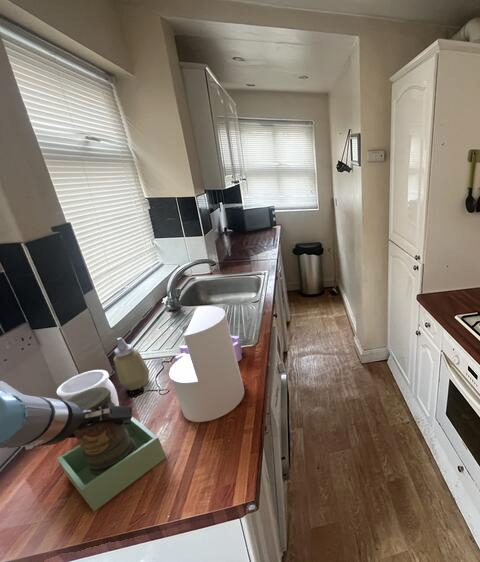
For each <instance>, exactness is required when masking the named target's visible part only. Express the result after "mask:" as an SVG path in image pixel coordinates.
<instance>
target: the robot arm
mask: <svg viewBox="0 0 480 562" xmlns="http://www.w3.org/2000/svg"><path fill="white" fill-rule="evenodd" d="M132 417H133V406H132V405H119V406H111V405H107V404H106V405H103V406H101V407H100V408H99V411H96V410H95V409H89V410H83V409H80V408H79V407H78V406H77V405H76V404H75V403H73V402H70V401H64V400H62V399H57V398H50V397H45V396H44V397H43V396H37V395H36V396H33V395H29V394H24V393H21V392H20V391H18V390H17V389H15V388H13V386H11V385H9V384H8V383H6V382H4V381H3V380H1V379H0V449H5V448H7V449H8V448H9V449H11V448H21V447H22V448H25V450H26V451H30V450H33V449H34V448H35V447H45V446H47V447H48V446H54V445H57V444H59V443H61V442H64V441H65V440H67V439H76V437H75V435H74V432H75V431H78V430H81V429H88V428H91V427H93V426H95V425H99V424H106V423H114V422H115V424H118V425H122V424H131V418H132ZM86 424H87V425H86Z"/></svg>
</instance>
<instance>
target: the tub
mask: <svg viewBox="0 0 480 562" xmlns="http://www.w3.org/2000/svg"><path fill="white" fill-rule="evenodd" d="M123 426H124V428H125V429H126V430H127V431H128V435H129V437H131V438H132V439H133V441H134V442H135V443H136V451H134V452H133V453H131V454H130V455H128V456H127V457H125V458H124V459H123V460H121V461H120V462H118V463H117V464H115V465H114V466H112V467H111V468H109V469H108V470H107V471H105V472H104V473H102V474H101V475H99V476H97V475H94V474H92V473H91V472H90V471H89V467H88V465H87V458H86V457H85V456H84V453H83V449H82V447H81V446H80V444H79V445H76V446H75V447H73V448H71V449H70V450H68V451H67V452H65V453H63V454H61V455H60V456H58V457H56V460H57V462H58V463H59V465H60V467H61V469H62V470H63V472H64V474H65V475H66V477H67V478H68V480H69V481H70V482H71V484H72V486H74V488H75V489H76V490H77V491H78V493H79V494H80V495H81V497H82V498H83V499H84V501H85V502H86V503H87V505H88V506H89V507H90V508H91V510H92V511H93V512H96V511H97V510H98V509H99V508H102V507H103V506H104V505H105V504H107V503H108V502H109V501H111V500H112V499H113V498H114V497H116V496H117V495H118V494H119V493H121V492H123V490H126V488H127V487H129V486H130V485H132V484H133V483H134V482H136V481H137V480H138V479H139V478H141V477H143V476H144V475H145V474H147V472H149V471H150V470H151V469H153V468H154V467H155V466H157V465H158V464H159V463H160V462H162V461H163V460H165V459H166V458H167V455H166V453H165V451H164V448H163V446H162V443H161V441H160V438H159V436H157V435H156V434H155V433H153V431H151V430H150V429H148V428H147V427H146V426H145V425H144V424H143V423H142V422H140V421H139V420H137V419H136V418H135V417H134V416H132V418H131V424H123Z"/></svg>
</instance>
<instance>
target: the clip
mask: <svg viewBox="0 0 480 562" xmlns="http://www.w3.org/2000/svg"><path fill="white" fill-rule="evenodd" d="M231 338H232V342H233V346H234V350H235V354H236V358H237V362H238V363H239V362H240V361H241V360H242V359H243V356H242V354H243V352H244V351H243V348H242V344H241V339H240V336H238V335H231ZM179 350H180V354H177V355H175V357H174V358H175V362H177V361H178V360H179V359H180V358H182V357H183V356H185V355H187V354H189V351H188V348H187V345H184V344H183V345H180V346H179Z"/></svg>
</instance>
